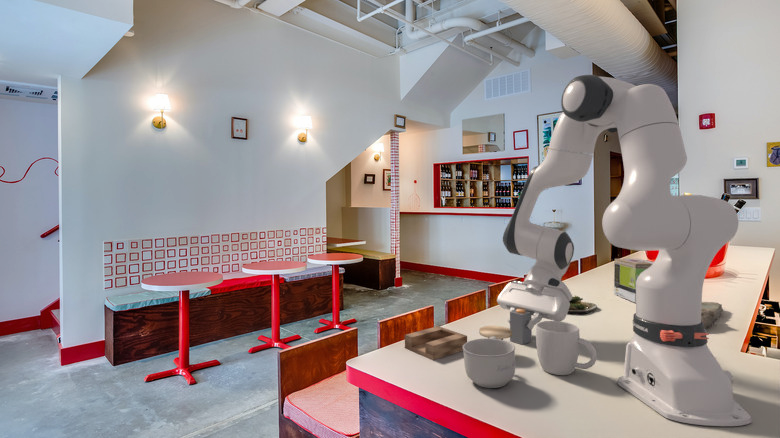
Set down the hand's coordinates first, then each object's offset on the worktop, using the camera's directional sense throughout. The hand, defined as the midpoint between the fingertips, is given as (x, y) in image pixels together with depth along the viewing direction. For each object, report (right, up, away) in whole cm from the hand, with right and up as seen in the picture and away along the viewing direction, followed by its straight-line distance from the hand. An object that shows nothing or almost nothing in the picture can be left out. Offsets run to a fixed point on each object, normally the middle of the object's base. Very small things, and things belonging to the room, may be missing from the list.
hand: (519, 325), depth 113 cm
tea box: (+59, -2, +46) cm, 75 cm away
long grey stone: (+63, -3, +18) cm, 65 cm away
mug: (+4, -5, -20) cm, 21 cm away
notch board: (-23, -5, -4) cm, 24 cm away
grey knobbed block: (+1, -4, +1) cm, 4 cm away
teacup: (-13, -6, -23) cm, 27 cm away
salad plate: (+28, -3, +35) cm, 45 cm away
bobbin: (-8, -5, -8) cm, 13 cm away
